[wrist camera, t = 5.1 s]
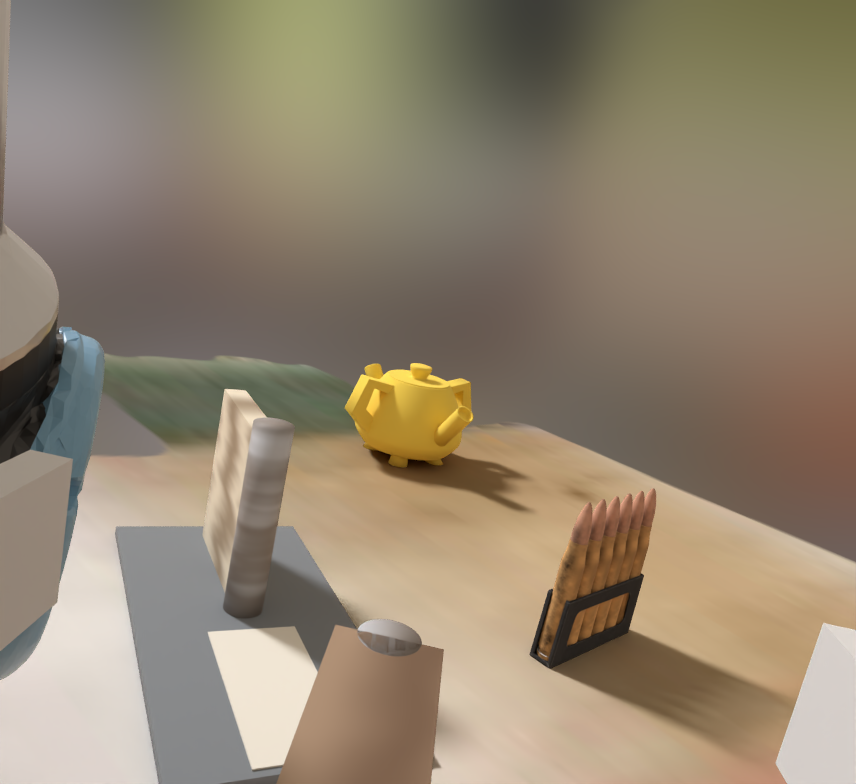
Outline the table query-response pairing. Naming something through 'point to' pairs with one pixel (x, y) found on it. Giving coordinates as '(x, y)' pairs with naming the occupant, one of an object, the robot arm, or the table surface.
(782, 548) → the table surface
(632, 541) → the ammunition clip
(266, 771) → the mat
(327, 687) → the brown rectangular block
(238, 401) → the birch hinge leaf
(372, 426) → the teapot
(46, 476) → the robot arm
